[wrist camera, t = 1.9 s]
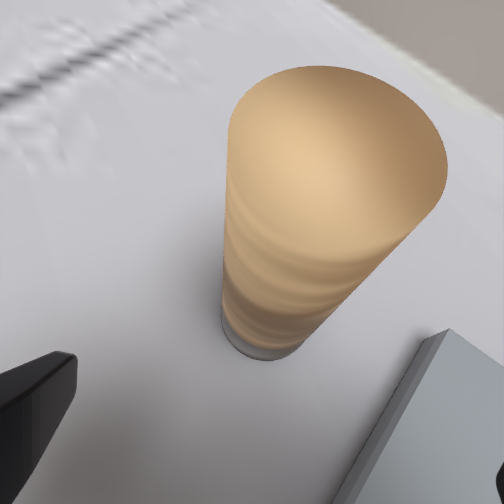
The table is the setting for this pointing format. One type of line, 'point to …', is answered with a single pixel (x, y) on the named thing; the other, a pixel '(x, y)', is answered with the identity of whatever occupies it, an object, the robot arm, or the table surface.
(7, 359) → the table surface
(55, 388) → the robot arm
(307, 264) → the ribbed peg
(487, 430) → the keyhole plate
